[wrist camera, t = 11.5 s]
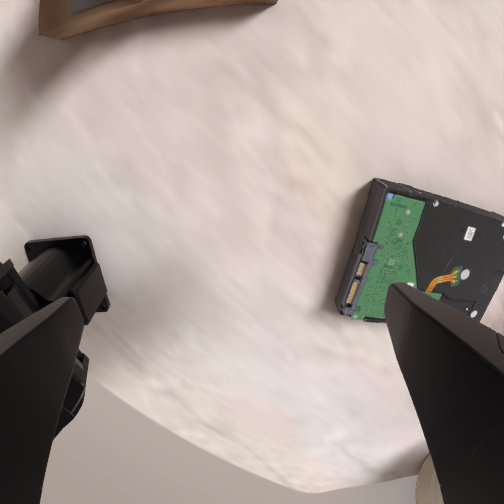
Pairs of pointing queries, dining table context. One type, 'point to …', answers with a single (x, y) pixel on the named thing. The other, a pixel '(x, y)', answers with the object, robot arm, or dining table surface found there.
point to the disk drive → (422, 252)
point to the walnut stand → (112, 12)
